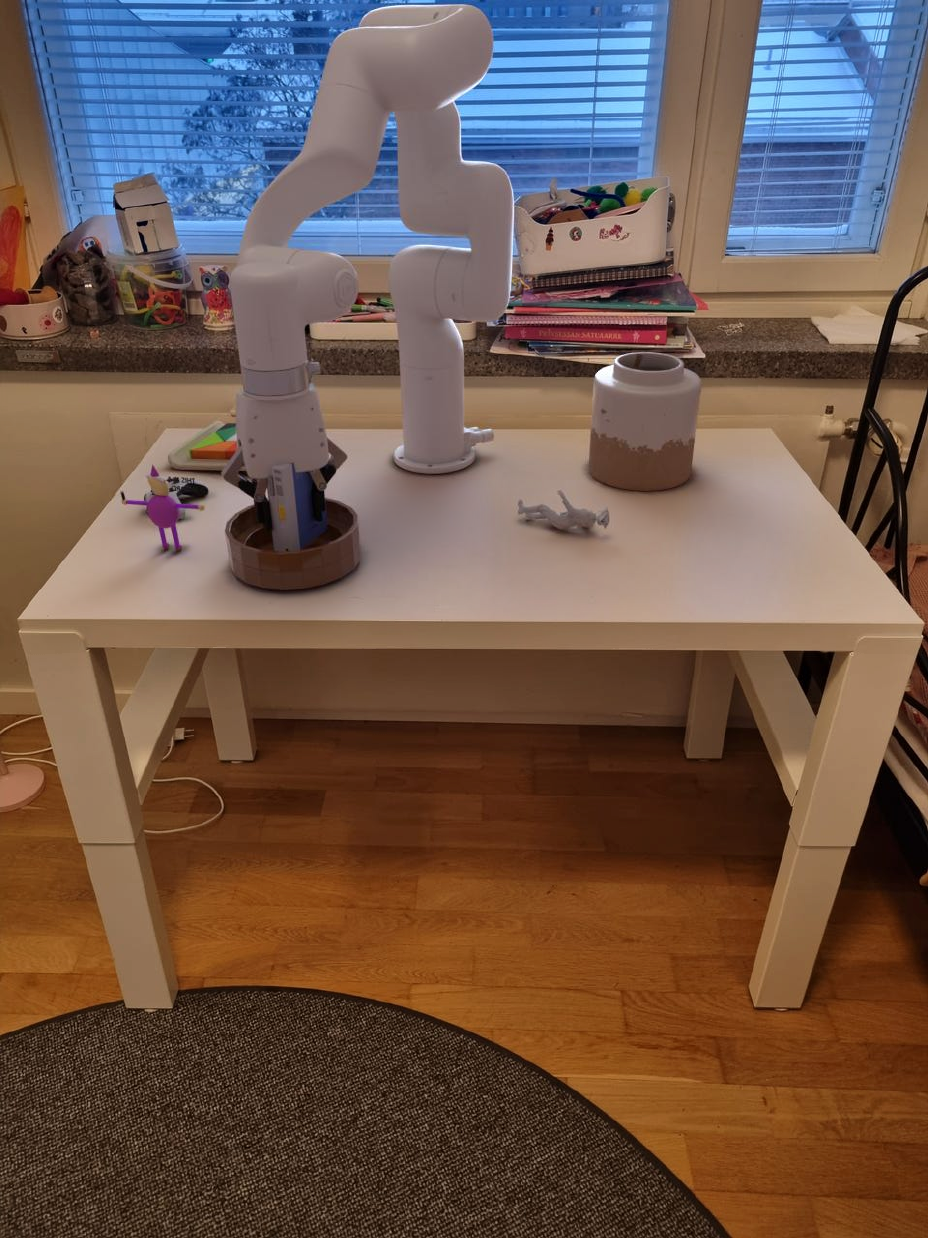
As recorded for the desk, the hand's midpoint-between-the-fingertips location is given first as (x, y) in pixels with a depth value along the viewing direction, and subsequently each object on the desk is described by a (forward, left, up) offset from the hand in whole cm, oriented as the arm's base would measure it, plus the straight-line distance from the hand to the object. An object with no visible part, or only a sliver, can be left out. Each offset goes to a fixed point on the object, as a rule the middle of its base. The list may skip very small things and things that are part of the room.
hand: (291, 520), depth 119 cm
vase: (-55, -6, -6) cm, 56 cm away
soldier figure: (-35, +6, -6) cm, 36 cm away
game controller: (+11, -24, -6) cm, 27 cm away
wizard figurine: (+14, -10, -6) cm, 18 cm away
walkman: (-1, 0, -3) cm, 3 cm away
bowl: (0, 0, -6) cm, 6 cm away
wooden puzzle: (-3, -39, -6) cm, 40 cm away
